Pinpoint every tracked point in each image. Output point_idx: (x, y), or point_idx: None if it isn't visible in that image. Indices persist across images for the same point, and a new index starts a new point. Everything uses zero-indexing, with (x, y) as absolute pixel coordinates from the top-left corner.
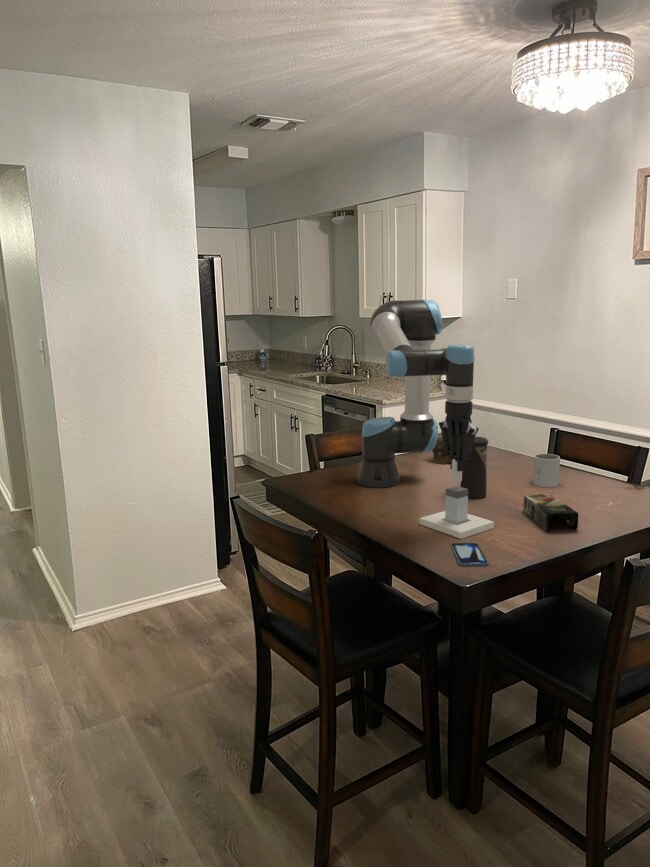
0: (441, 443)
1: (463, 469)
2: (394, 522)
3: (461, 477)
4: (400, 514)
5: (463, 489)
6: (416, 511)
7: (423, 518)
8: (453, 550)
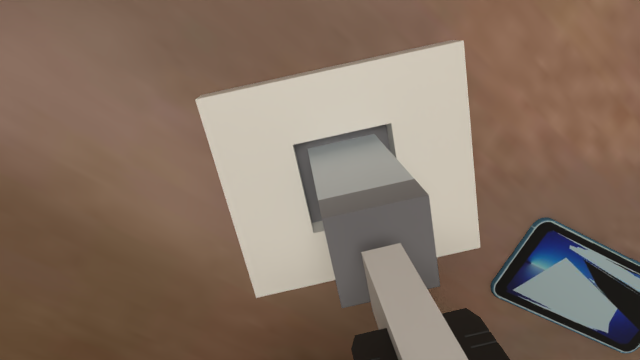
0: None
1: (479, 320)
2: (199, 348)
3: (410, 263)
4: (113, 291)
5: (418, 226)
6: (96, 216)
7: (266, 286)
8: (540, 315)
